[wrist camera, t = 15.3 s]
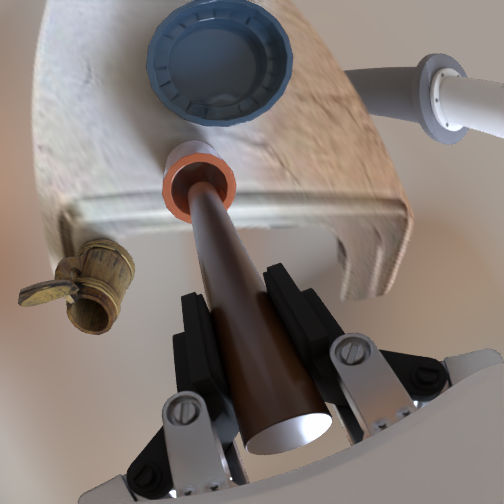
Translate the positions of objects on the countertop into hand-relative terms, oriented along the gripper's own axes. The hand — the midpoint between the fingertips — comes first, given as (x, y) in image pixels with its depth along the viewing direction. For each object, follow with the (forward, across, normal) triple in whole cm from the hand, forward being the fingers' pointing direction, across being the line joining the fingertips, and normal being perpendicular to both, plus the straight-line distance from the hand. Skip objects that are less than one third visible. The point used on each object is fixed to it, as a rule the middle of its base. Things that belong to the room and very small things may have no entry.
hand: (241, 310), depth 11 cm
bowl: (+29, -6, -12) cm, 31 cm away
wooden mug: (+29, +17, +7) cm, 34 cm away
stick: (+15, 0, 0) cm, 15 cm away
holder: (+29, 0, 0) cm, 29 cm away
